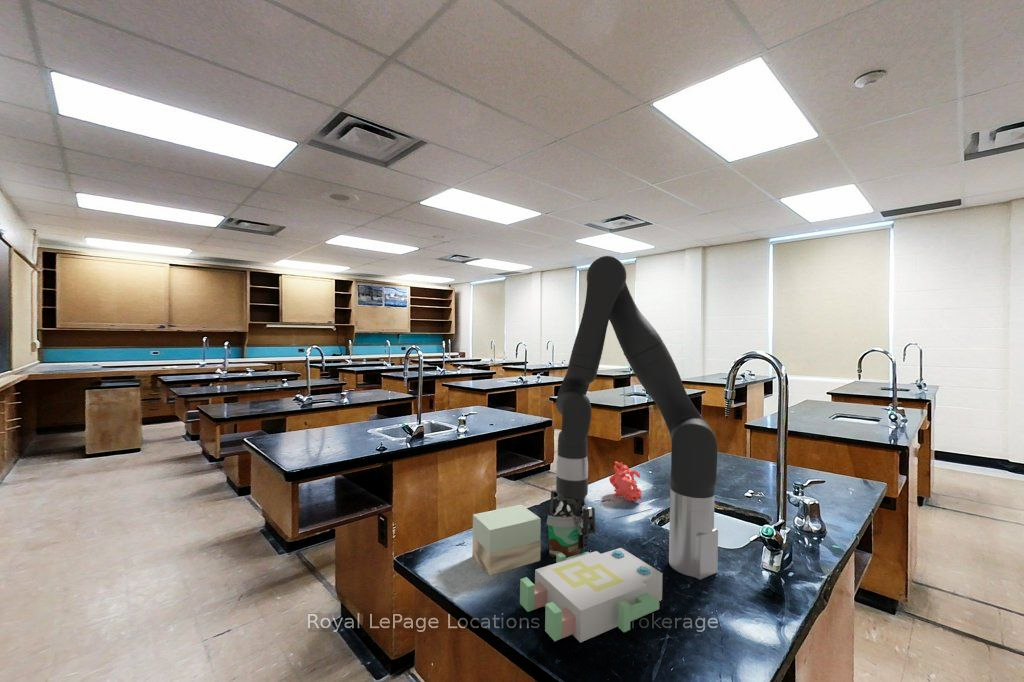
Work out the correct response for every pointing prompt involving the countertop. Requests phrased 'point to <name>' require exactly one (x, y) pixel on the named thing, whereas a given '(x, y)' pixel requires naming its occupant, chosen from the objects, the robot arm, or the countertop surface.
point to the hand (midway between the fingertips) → (570, 541)
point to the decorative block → (592, 593)
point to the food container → (562, 535)
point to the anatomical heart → (625, 483)
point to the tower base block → (506, 556)
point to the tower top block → (506, 528)
